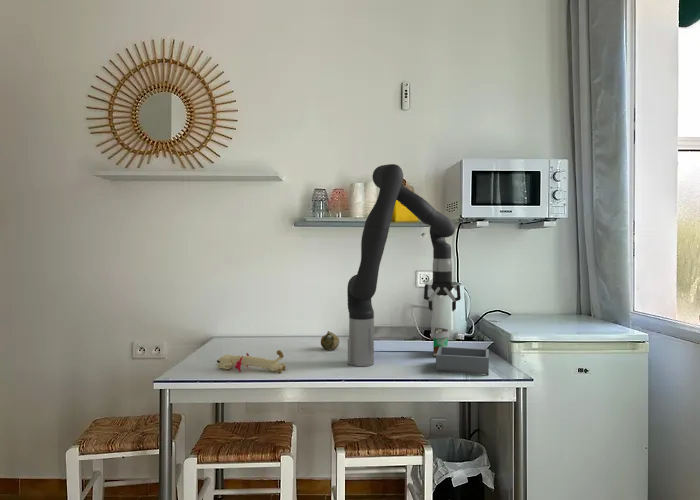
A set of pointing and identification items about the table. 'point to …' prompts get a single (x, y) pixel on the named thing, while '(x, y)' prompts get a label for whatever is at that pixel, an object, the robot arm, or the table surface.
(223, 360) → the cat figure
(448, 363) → the grey bin
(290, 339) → the table surface
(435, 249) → the robot arm
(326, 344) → the onion
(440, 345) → the food container
